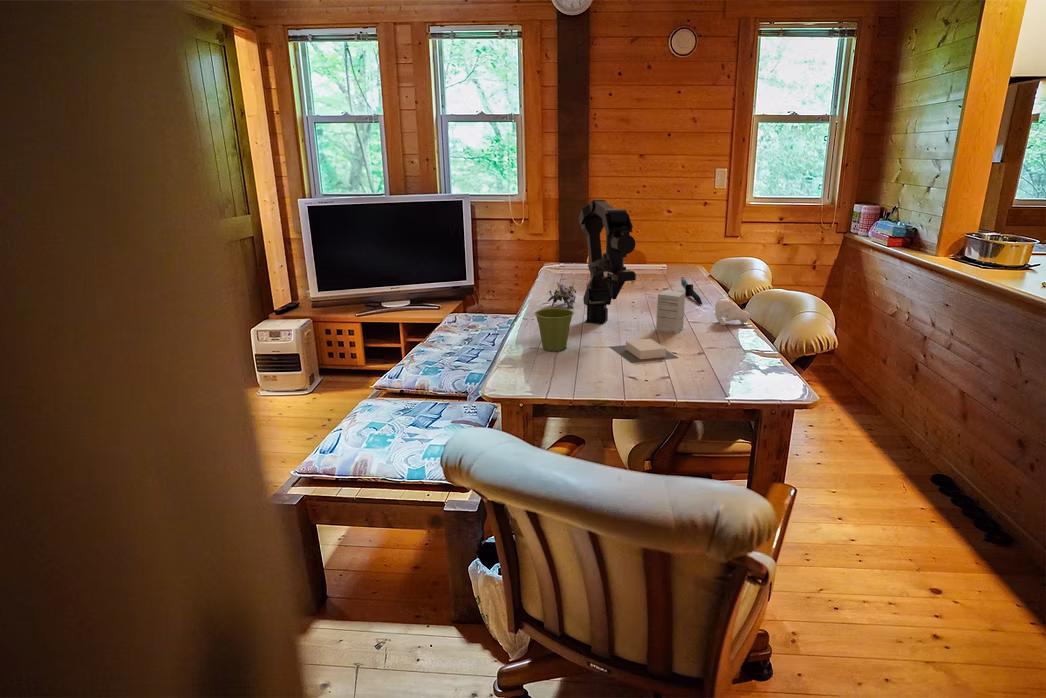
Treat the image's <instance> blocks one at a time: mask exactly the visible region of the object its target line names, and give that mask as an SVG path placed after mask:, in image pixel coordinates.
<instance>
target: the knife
mask: <svg viewBox="0 0 1046 698" xmlns="http://www.w3.org/2000/svg"><path fill="white" fill-rule="evenodd" d="M680 284H681V286H682V287H683V289H684V292H685V297H686V296H687V295H688V296H691V298H692V299H693V300H694V301H695V300H696V301H697V302H696V301H695V302H696V303H697V304H698V305H700V304H701V306H702V305H703V301H702V299H701V296H700V295H699V294H698V293H697V292H696V291H695V290H694V285H693V284H689V283H688V281H687V280H686V279H685V276H683V277H681V278H680Z"/></svg>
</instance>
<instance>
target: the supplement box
mask: <svg viewBox="0 0 1046 698" xmlns="http://www.w3.org/2000/svg"><path fill="white" fill-rule="evenodd" d="M685 303H686V295H685V291H677V290H676V291H675V290H663V291H662V292H660V293H658V294H657V304H656V305H657V306H656V324H655V325H656V326H655V330H656V331H658V332H665V333H666V332H668V333H675V334H678V333H679V332H680V331H682V330H683V329H684V321H685V320H684V319H685V318H684V317H685Z"/></svg>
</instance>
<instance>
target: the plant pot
mask: <svg viewBox="0 0 1046 698" xmlns="http://www.w3.org/2000/svg"><path fill="white" fill-rule="evenodd" d="M574 314H575V312H574V311H573V310H571V309H568V308H560V307H558V308H557V307H556V308H555V307H551V308H542V309H539V310H536V311H535V312H534V316H536V321H537V323H538V327H539V333H540V340H541V345H542V349H543V350H546V351H549V352H561V351H562V350H566V349H567V345H568V338H569V334H570V326H571V322H572V317H573V316H574Z"/></svg>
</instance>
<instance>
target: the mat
mask: <svg viewBox="0 0 1046 698" xmlns="http://www.w3.org/2000/svg"><path fill="white" fill-rule="evenodd" d="M609 349H611V350H613V351H614V352H615V353H616V354H618V355H619V356H621V357H622V358H623V359H625V360H626V361H627V362H629V363H630V364H637V363H644V362H646V363H647V362H656V361H665V360H666V361H668V360H676V359H679V357H678V356H677V355H675V354H673V353H672V352H670V351H669V350H667V349H666V357H662V358H652V359H642V360H641V359H639V358H637V357H636V356H635V355H633V354H632V353H630V352H629V351H627V350H626V344H624V345H614V346H613V345H612V346H609Z"/></svg>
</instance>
